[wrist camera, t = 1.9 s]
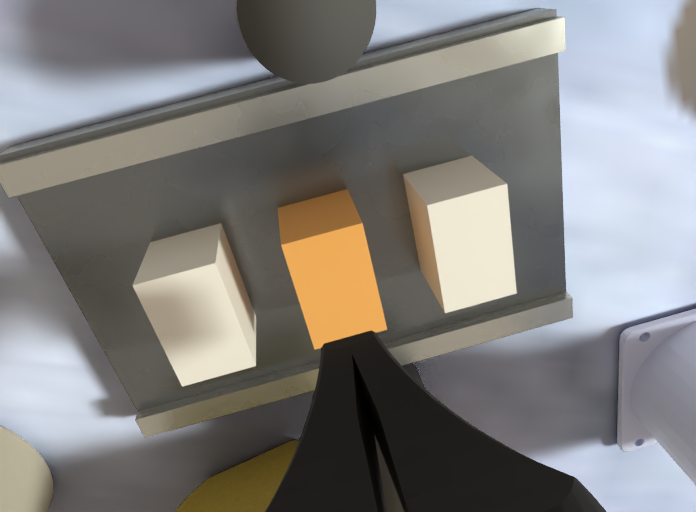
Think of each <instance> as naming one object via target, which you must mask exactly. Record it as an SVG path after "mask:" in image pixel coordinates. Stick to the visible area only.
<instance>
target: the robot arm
mask: <svg viewBox="0 0 696 512" xmlns="http://www.w3.org/2000/svg"><path fill="white" fill-rule="evenodd" d="M643 333H644V334H643ZM642 334H643V335H642ZM375 437H376V439H377V442H378V445H379V447H380V450H381V453H382V455H383V458H384V460H385V463H386V466H387V468H388V471H389V474H390V476H391V479H392V481H393V484H394V487H395V489H396V492H397V495H398V497H399V500H400V502H401V505H402V508H403V510H404V512H606V511H605V509H604V508H603V507H602V506H601V505H600V503H599V502H598V501H597V500H596V499H595V498H594V497H593V495H592V494H591V493H590V492H589V491H588V490H587V489H586V488H585V487H584V486H583V485H582V484H581V483H580V482H579V481H578V480H577V479H576V478H575V477H573V476H570V475H568V474H565V473H563V472H560V471H558V470H556V469H553V468H551V467H548V466H546V465H543V464H541V463H539V462H536V461H534V460H532V459H530V458H528V457H526V456H524V455H522V454H520V453H518V452H516V451H514V450H512V449H511V448H509V447H507V446H505V445H504V444H502V443H500V442H499V441H497V440H495V439H493V438H492V437H490V436H488V435H487V434H485V433H483V432H481V431H480V430H478V429H477V428H475V427H474V426H472V425H471V424H469V423H468V422H466V421H465V420H463V419H462V418H461V417H459V416H458V415H457V414H455V413H454V412H452V411H451V410H450V409H448V408H447V407H446V406H445V405H443V404H442V403H441V402H440V401H438V400H437V399H436V398H435V397H434V396H433V395H431V394H430V393H429V392H428V391H427V390H426V389H425V388H424V387H422V386H421V385H420V384H419V383H418V382H417V381H416V380H415V379H414V378H413V377H412V376H411V375H410V374H409V373H408V372H407V371H406V370H405V369H404V368H403V367H402V366H401V365H400V363H399V362H398V361H397V360H396V359H395V358H394V357H393V355H392V354H391V353H390V352H389V351H388V349H387V348H386V347H385V345H384V344H383V343H382V341H381V340H380V338H379V336H378V335H377V333H376V332H374V331H372V330H371V331H367V332H364V333H360V334H357V335H353V336H349V337H346V338H342V339H339V340H335V341H332V342H328V343H324V344H323V346H322V347H321V357H320V366H319V372H318V377H317V383H316V387H315V391H314V395H313V399H312V403H311V407H310V410H309V413H308V416H307V419H306V423H305V426H304V429H303V432H302V435H301V437H300V440H299V443H298V445H297V448H296V450H295V453H294V455H293V457H292V460H291V462H290V464H289V467H288V469H287V471H286V473H285V475H284V477H283V479H282V481H281V483H280V485H279V487H278V489H277V491H276V493H275V495H274V497H273V498H272V500H271V502H270V504H269V506H268V507H267V509H266V510H265V512H387V508H386V502H385V496H384V490H383V483H382V477H381V471H380V465H379V459H378V453H377V446H376V440H375ZM657 443H659V444H660V445H661V446H662V447H663V448H664V450H665V451H666V452H667V453H668V454H669V455H670V456H671V458H672V459H673V460H674V461H675V462H676V463H677V464H678V465H679V467H680V468H681V469H682V470H683V471H684V472H685V473H686V475H687V476H688V477H689V478H690V479H691V480H692V481H693V483H694V484H695V485H696V309H692V310H689V311H685V312H682V313H678V314H675V315H671V316H668V317H664V318H660V319H657V320H653V321H650V322H646V323H643V324H639V325H636V326H632V327H629V328H627V329H625V330H624V331H623V332H622V333H621V335H620V342H619V384H618V427H617V444H618V446H619V447H620V449H621V450H622V451H625V452H628V451H632V450H636V449H639V448H643V447H646V446H650V445H653V444H657Z"/></svg>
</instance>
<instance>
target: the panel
mask: <svg viewBox="0 0 696 512" xmlns="http://www.w3.org/2000/svg"><path fill="white" fill-rule="evenodd" d="M562 51H565V21H564V17H558V16H556V9H544V8H537V9H533V10H529V11H526V12H522V13H518V14H514V15H510V16H506V17H503V18H499V19H495V20H491V21H487V22H484V23H480V24H476V25H472V26H468V27H464V28H461V29H457V30H453V31H449V32H445V33H441V34H438V35H434V36H430V37H426V38H422V39H419V40H415V41H411V42H407V43H403V44H399V45H396V46H392V47H388V48H384V49H380V50H377V51H373V52H369V53H365V54H362V56H361V57H360V59H359V60H358V61H357V62H356V63H355V64H354V65H353V66H352V67H351V68H350V69H349V70H347V71H346V72H344V73H343V74H341V75H340V76H338V77H336V78H334V79H331V80H328V81H325V82H321V83H315V84H303V83H296V82H291V81H288V80H285V79H283V78H281V77H279V76H277V77H273V78H270V79H266V80H262V81H258V82H254V83H250V84H247V85H243V86H239V87H235V88H231V89H228V90H224V91H220V92H216V93H212V94H208V95H205V96H201V97H197V98H193V99H189V100H185V101H182V102H178V103H174V104H170V105H166V106H163V107H159V108H155V109H151V110H147V111H143V112H140V113H136V114H132V115H128V116H124V117H121V118H117V119H113V120H109V121H105V122H101V123H98V124H94V125H90V126H86V127H82V128H79V129H75V130H71V131H67V132H63V133H59V134H56V135H52V136H48V137H44V138H40V139H36V140H33V141H29V142H25V143H21V144H17V145H14V146H11V147H9V148H7V149H6V150H4V151H3V152H1V153H0V183H1V185H2V187H3V189H4V190H5V192H6V194H7V196H8V197H9V198H10V197H14V196H18V198H19V200H20V202H21V204H22V205H23V207H24V209H25V211H26V213H27V214H28V216H29V218H30V220H31V221H32V223H33V225H34V227H35V229H36V230H37V232H38V234H39V236H40V238H41V239H42V241H43V243H44V245H45V247H46V248H47V250H48V252H49V254H50V255H51V257H52V259H53V261H54V263H55V264H56V266H57V268H58V270H59V272H60V273H61V275H62V277H63V279H64V280H65V282H66V284H67V286H68V288H69V289H70V291H71V293H72V295H73V297H74V298H75V300H76V302H77V304H78V305H79V307H80V309H81V311H82V313H83V314H84V316H85V318H86V320H87V322H88V323H89V325H90V327H91V329H92V330H93V332H94V334H95V336H96V338H97V339H98V341H99V343H100V345H101V347H102V348H103V350H104V352H105V354H106V356H107V357H108V359H109V361H110V363H111V364H112V366H113V368H114V370H115V372H116V373H117V375H118V377H119V379H120V381H121V382H122V384H123V386H124V388H125V389H126V391H127V393H128V395H129V397H130V398H131V400H132V402H133V404H134V406H135V407H136V409H137V415H136V419H135V421H136V422H137V424H138V426H139V428H140V430H141V431H142V433H143V435H144V437H145V438H146V437H150V436H153V435H157V434H161V433H164V432H168V431H171V430H175V429H178V428H182V427H185V426H189V425H193V424H196V423H200V422H203V421H207V420H210V419H214V418H218V417H221V416H225V415H228V414H232V413H235V412H239V411H242V410H246V409H250V408H253V407H257V406H260V405H264V404H267V403H271V402H274V401H278V400H282V399H285V398H289V397H292V396H296V395H299V394H303V393H306V392H310V391H314V390H315V387H316V383H317V377H318V372H319V366H320V357H321V348H319V349H316V350H315V349H314V346H313V343H312V340H311V337H310V334H309V331H308V328H307V324H306V321H305V318H304V315H303V312H302V309H301V306H300V303H299V299H298V296H297V293H296V290H295V287H294V284H293V281H292V278H291V275H290V271H289V268H288V265H287V262H286V259H285V256H284V253H283V250H282V246H281V239H280V228H279V218H278V208H279V207H283V206H286V205H290V204H294V203H298V202H301V201H305V200H309V199H312V198H316V197H320V196H324V195H327V194H331V193H335V192H338V191H342V190H346V189H348V191H349V194H350V196H351V198H352V200H353V203H354V205H355V207H356V209H357V212H358V214H359V216H360V218H361V221H362V223H363V227H364V231H365V236H366V240H367V244H368V249H369V253H370V257H371V261H372V266H373V270H374V274H375V279H376V283H377V287H378V291H379V296H380V300H381V304H382V309H383V313H384V317H385V321H386V326H387V330H384V331H380V332H377V335H378V336H379V338H380V340H381V341H382V343H383V344H384V345H385V347H386V348H387V349H388V351H389V352H390V353H391V354H392V355H393V357H394V358H395V359H396V360H397V361H398V362H399V363H400V365H401V366H402V365H406V364H410V363H413V362H417V361H420V360H424V359H427V358H431V357H435V356H438V355H442V354H445V353H449V352H452V351H456V350H459V349H463V348H467V347H470V346H474V345H477V344H481V343H484V342H488V341H491V340H495V339H499V338H502V337H506V336H509V335H513V334H516V333H520V332H523V331H527V330H531V329H534V328H538V327H541V326H545V325H548V324H552V323H555V322H559V321H563V320H566V319H570V318H573V307H572V297H571V296H570V295H569V294H568V293H567V292H566V279H565V250H564V221H563V192H562V163H561V134H560V105H559V76H558V52H562ZM468 156H473V157H474V158H476V159H477V160H478V161H479V162H481V163H482V164H483V165H484V166H486V167H487V168H488V169H489V170H491V171H492V172H493V173H494V174H496V175H497V176H498V177H499V178H501V179H502V180H503V181H504V182H506V183H507V187H508V199H509V210H510V222H511V233H512V245H513V256H514V268H515V280H516V291H517V294H513V295H509V296H506V297H502V298H499V299H495V300H491V301H488V302H484V303H481V304H477V305H473V306H470V307H466V308H463V309H459V310H456V311H452V312H448V313H445V312H444V311H443V309H442V307H441V305H440V304H439V302H438V300H437V298H436V297H435V295H434V293H433V291H432V290H431V288H430V286H429V284H428V283H427V281H426V279H425V277H424V276H423V274H422V272H421V269H420V264H419V259H418V253H417V248H416V242H415V237H414V231H413V226H412V221H411V215H410V210H409V204H408V199H407V193H406V188H405V183H404V177H403V174H405V173H409V172H413V171H416V170H420V169H424V168H427V167H431V166H435V165H438V164H442V163H446V162H450V161H453V160H457V159H461V158H464V157H468ZM220 223H221V224H222V227H223V229H224V232H225V235H226V237H227V240H228V243H229V245H230V248H231V251H232V253H233V256H234V259H235V261H236V264H237V267H238V269H239V272H240V275H241V277H242V280H243V283H244V285H245V288H246V291H247V294H248V296H249V299H250V302H251V304H252V307H253V310H254V312H255V315H256V366H255V367H251V368H247V369H244V370H240V371H237V372H233V373H229V374H226V375H222V376H219V377H215V378H211V379H208V380H204V381H201V382H197V383H194V384H190V385H186V386H183V387H182V385H181V383H180V381H179V379H178V377H177V375H176V373H175V371H174V369H173V367H172V365H171V363H170V361H169V359H168V357H167V355H166V353H165V351H164V349H163V347H162V345H161V343H160V341H159V339H158V337H157V335H156V333H155V330H154V328H153V326H152V324H151V322H150V320H149V318H148V316H147V314H146V312H145V310H144V308H143V306H142V304H141V302H140V300H139V298H138V296H137V294H136V292H135V290H134V288H133V286H132V285H133V283H134V280H135V278H136V276H137V273H138V271H139V268H140V266H141V263H142V261H143V259H144V256H145V254H146V251H147V249H148V247H149V244H150V242H153V241H157V240H160V239H164V238H168V237H171V236H175V235H179V234H183V233H186V232H190V231H194V230H197V229H201V228H205V227H209V226H212V225H216V224H220Z"/></svg>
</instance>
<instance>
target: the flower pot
mask: <svg viewBox="0 0 696 512" xmlns="http://www.w3.org/2000/svg"><path fill="white" fill-rule="evenodd" d="M298 443H299V440H293V441H289V442H287V443H285V444H282V445H280V446H278V447H276V448H273V449H271V450H269V451H267V452H265V453H263V454H261V455H259V456H257V457H254V458H252V459H250V460H248V461H246V462H243V463H241V464H239V465H236V466H234V467H232V468H230V469H228V470H225V471H223V472H221V473H218V474H216V475H214V476H212V477H210V478H208V479H207V480H205V481H204V482H203V483H202V484H201V485H200V486H199V487H198V488H197V489H196V490H195V491H194V492H192V493H191V494H190V495H189V496H188V497H187V498H186V499H185V501H184V502H183V503H182V504H181V505H180V506H179V507H178V509H177V510H176V511H175V512H265V510H266V509H267V507H268V506H269V504H270V502H271V500H272V498H273V497H274V495H275V493H276V491H277V489H278V487H279V485H280V483H281V481H282V479H283V477H284V475H285V473H286V471H287V469H288V467H289V464H290V462H291V460H292V457H293V455H294V453H295V450H296V448H297V445H298Z"/></svg>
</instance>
